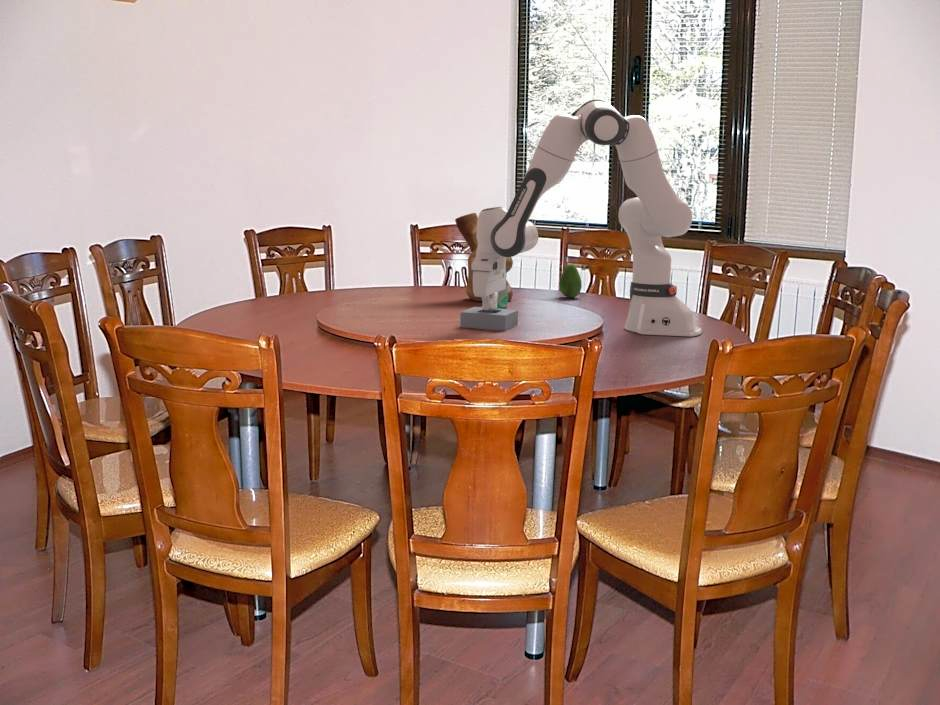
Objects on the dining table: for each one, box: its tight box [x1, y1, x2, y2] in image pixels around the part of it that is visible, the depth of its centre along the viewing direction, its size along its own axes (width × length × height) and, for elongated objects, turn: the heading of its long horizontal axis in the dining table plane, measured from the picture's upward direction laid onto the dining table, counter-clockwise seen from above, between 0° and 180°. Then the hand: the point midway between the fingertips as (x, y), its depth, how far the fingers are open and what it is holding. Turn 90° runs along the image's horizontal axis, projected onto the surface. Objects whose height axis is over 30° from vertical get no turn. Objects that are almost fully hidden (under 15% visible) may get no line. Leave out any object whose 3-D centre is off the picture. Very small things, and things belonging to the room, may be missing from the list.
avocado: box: [558, 264, 582, 299], centre depth 383 cm, size 8×8×12 cm
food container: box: [497, 284, 511, 309], centre depth 338 cm, size 12×6×10 cm, turn 168°
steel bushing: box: [481, 292, 497, 313], centre depth 320 cm, size 4×4×8 cm
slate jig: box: [459, 306, 519, 332], centre depth 320 cm, size 14×12×4 cm
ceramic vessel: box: [454, 212, 514, 302], centre depth 372 cm, size 16×22×30 cm
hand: (489, 308), depth 320 cm, fingers closed on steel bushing, 4 cm apart
